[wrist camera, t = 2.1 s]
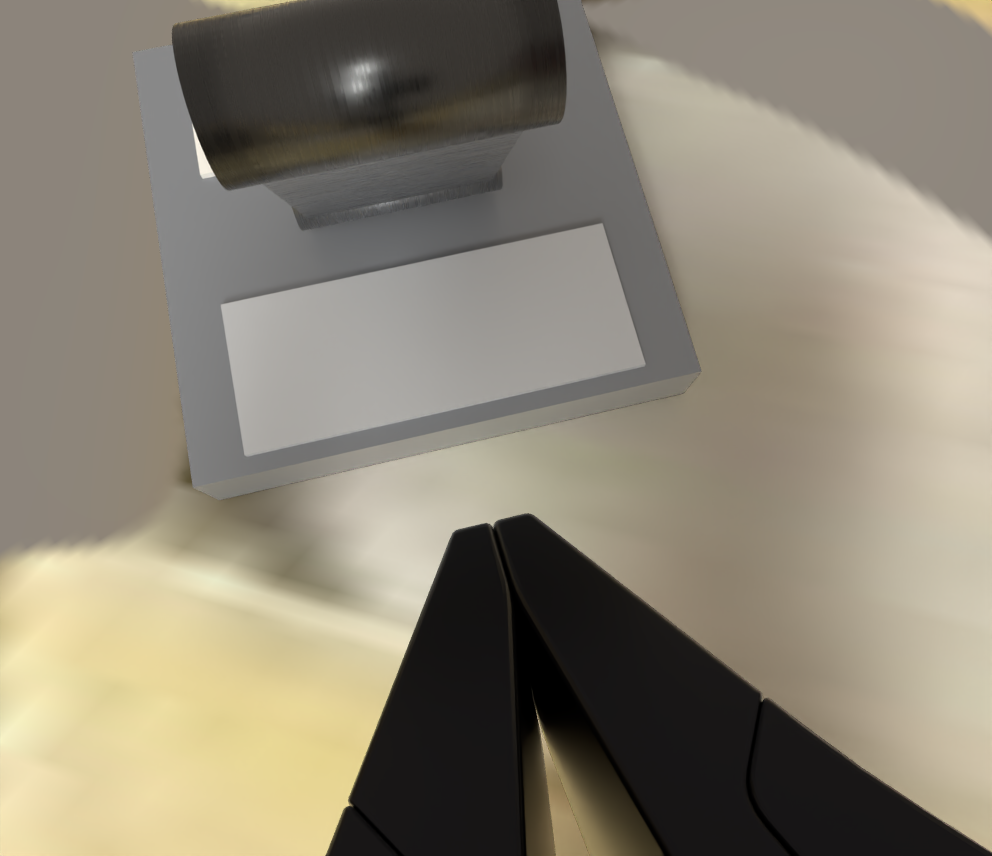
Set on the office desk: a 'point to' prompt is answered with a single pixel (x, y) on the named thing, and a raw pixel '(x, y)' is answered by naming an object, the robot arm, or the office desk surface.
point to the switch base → (410, 299)
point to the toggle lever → (370, 98)
